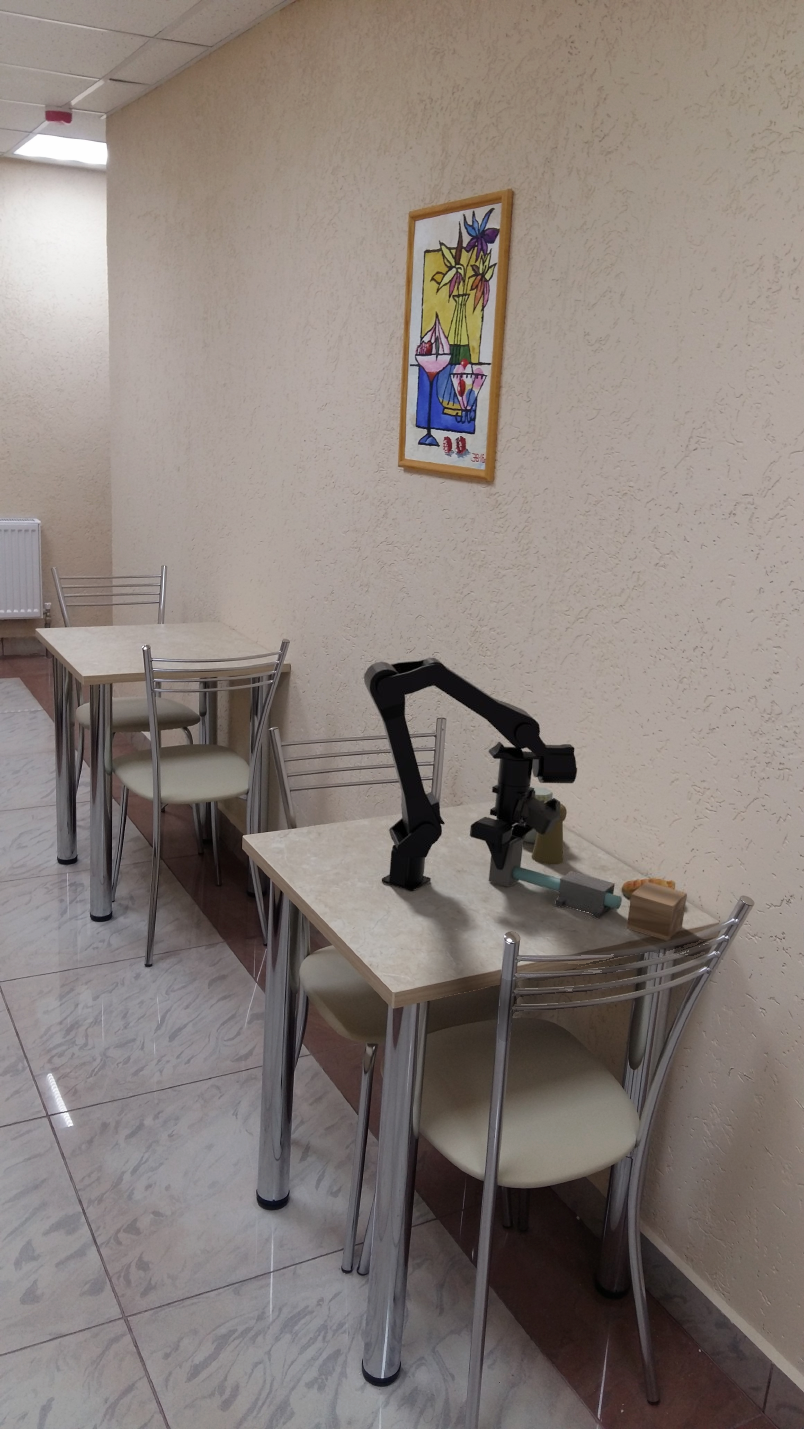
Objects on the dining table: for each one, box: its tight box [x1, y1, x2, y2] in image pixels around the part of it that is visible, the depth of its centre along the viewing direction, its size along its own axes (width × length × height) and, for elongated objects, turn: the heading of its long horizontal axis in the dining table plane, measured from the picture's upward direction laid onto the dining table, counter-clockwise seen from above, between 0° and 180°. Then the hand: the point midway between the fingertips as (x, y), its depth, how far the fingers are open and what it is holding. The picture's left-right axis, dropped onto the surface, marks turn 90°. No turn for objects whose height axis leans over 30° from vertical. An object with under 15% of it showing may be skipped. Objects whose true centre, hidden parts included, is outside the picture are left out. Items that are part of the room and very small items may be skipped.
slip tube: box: [488, 835, 623, 910], centre depth 190 cm, size 4×24×8 cm, turn 57°
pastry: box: [621, 877, 676, 899], centre depth 194 cm, size 9×7×4 cm
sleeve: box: [554, 870, 616, 920], centre depth 188 cm, size 6×8×5 cm
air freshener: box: [523, 785, 554, 844], centre depth 218 cm, size 11×8×10 cm
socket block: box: [626, 882, 688, 941], centre depth 181 cm, size 7×7×6 cm
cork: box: [531, 802, 568, 866], centre depth 208 cm, size 6×6×11 cm
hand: (505, 865), depth 196 cm, fingers closed on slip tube, 4 cm apart
